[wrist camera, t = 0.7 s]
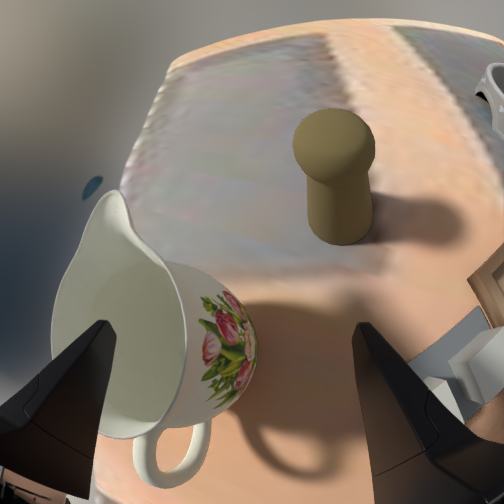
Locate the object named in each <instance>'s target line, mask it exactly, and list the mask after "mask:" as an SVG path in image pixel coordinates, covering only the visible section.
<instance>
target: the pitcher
mask: <svg viewBox="0 0 504 504" xmlns="http://www.w3.org/2000/svg"><path fill="white" fill-rule="evenodd" d="M99 319H102V320H108V321H109V322H110V324H111V325H112V327H113V329H114V331H115V332H116V335H117V341H116V347H115V352H114V358H113V365H112V371H111V375H110V380H109V384H108V388H107V392H106V396H105V401H104V405H103V410H102V414H101V419H100V424H99V430H98V433H99V434H102V435H104V436H106V437H110V438H114V439H131V438H134V442H133V462H134V467H135V469H136V471H137V473H138V475H139V476H140V477H141V479H142V480H143V481H144V482H146V483H148V484H149V485H152V486H155V487H159V488H163V489H167V488H174V487H177V486H179V485H182V484H183V483H185V482H187V481H189V480H190V479H191V478H192V477H193V476H194V475H195V474H196V473H197V472H198V471H199V469H200V468H201V466H202V464H203V462H204V460H205V457H206V454H207V451H208V447H209V443H210V437H211V423H212V418H214V417H216V416H217V415H219V414H220V413H222V412H223V411H225V410H226V409H228V408H229V407H230V406H231V405H232V404H233V403H234V402H235V401H237V400H238V399H239V397H240V396H241V395H242V394H243V392H244V391H245V390H246V388H247V386H248V384H249V383H250V381H251V379H252V376H253V374H254V371H255V367H256V363H257V355H258V345H257V338H256V333H255V329H254V326H253V324H252V321H251V319H250V317H249V315H248V313H247V312H246V310H245V308H244V307H243V305H242V304H241V303H240V302H239V300H238V299H237V298H236V297H235V296H234V295H233V294H232V293H231V292H230V291H229V290H228V289H227V288H226V287H225V286H224V285H222V284H221V283H220V282H218V281H217V280H216V279H214V278H212V277H211V276H209V275H207V274H206V273H204V272H202V271H200V270H198V269H196V268H193V267H190V266H188V265H185V264H181V263H177V262H172V261H165V260H164V259H163V258H162V257H161V256H160V255H159V254H158V253H157V252H155V251H154V250H153V249H152V248H151V247H150V246H149V245H147V244H146V243H145V242H144V241H143V240H142V239H141V238H140V237H139V235H138V234H137V232H136V231H135V228H134V225H133V221H132V218H131V215H130V211H129V208H128V205H127V202H126V200H125V198H124V196H123V194H122V193H121V192H120V191H118V190H113V191H109V192H108V193H106V194H105V195H104V196H103V197H102V198H101V199H100V200H99V201H98V203H97V204H96V206H95V208H94V210H93V212H92V213H91V216H90V218H89V220H88V223H87V225H86V228H85V230H84V233H83V236H82V239H81V243H80V245H79V247H78V250H77V252H76V254H75V256H74V258H73V259H72V261H71V263H70V265H69V267H68V269H67V271H66V273H65V274H64V277H63V279H62V281H61V283H60V286H59V290H58V292H57V296H56V300H55V304H54V309H53V315H52V324H51V350H52V359H54V358H56V357H57V356H58V355H59V354H60V353H61V352H62V351H63V350H64V349H65V348H67V347H68V346H69V345H70V344H71V343H72V342H73V341H74V340H76V339H77V338H78V337H79V336H80V335H81V334H82V333H83V332H85V331H86V330H87V329H88V328H89V327H90V326H91V325H93V324H94V323H95V322H96V321H97V320H99ZM192 425H194V429H193V435H192V440H191V443H190V447H189V450H188V452H187V455H186V456H185V458H184V460H183V461H182V462H181V463H180V464H179V465H178V466H177V467H176V468H174V469H173V470H171V471H167V472H162V471H160V470H159V468H158V466H157V462H156V446H157V441H158V439H159V437H160V435H161V434H162V432H163V431H164V430H165V429H167V428H181V427H188V426H192Z"/></svg>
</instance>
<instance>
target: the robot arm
mask: <svg viewBox="0 0 504 504" xmlns="http://www.w3.org/2000/svg"><path fill="white" fill-rule="evenodd" d="M116 341H117V335H116V332H115V331H114V329H113V327H112V325H111V324H110V322H109V321H108V320H102V319H99V320H97V321H96V322H95V323H94V324H93V325H91V326H90V327H89V328H88V329H87V330H86V331H85V332H83V333H82V334H81V335H80V336H79V337H78V338H77V339H76V340H74V341H73V342H72V343H71V344H70V345H69V346H68V347H67V348H65V349H64V350H63V351H62V352H61V353H60V354H59V355H58V356H57V357H56V358H54V359H53V360H52V361H51V362H50V363H49V364H48V365H47V366H46V367H45V368H44V369H43V370H42V371H41V372H40V373H39V374H37V375H36V376H35V377H34V378H33V379H32V380H31V381H30V382H29V383H28V384H27V385H26V386H24V387H23V388H22V389H21V390H20V391H18V392H17V393H16V394H15V395H13V396H12V397H11V398H10V399H9V400H7V401H6V402H5V403H4V404H2V405H1V406H0V504H71V503H70V501H69V500H68V498H66V495H67V494H69V495H72V496H76V497H79V498H82V499H86V500H89V494H90V483H91V475H92V467H93V459H94V453H95V447H96V441H97V435H98V430H99V424H100V419H101V414H102V410H103V405H104V401H105V396H106V392H107V388H108V384H109V380H110V375H111V371H112V365H113V358H114V352H115V347H116ZM352 348H353V357H354V367H355V378H356V384H357V389H358V394H359V399H360V405H361V410H362V415H363V421H364V426H365V432H366V438H367V445H368V451H369V458H370V465H371V473H372V477H373V478H372V482H373V491H374V501H375V504H504V444H501V443H496V442H492V441H488V440H484V439H482V438H480V437H478V436H477V435H475V434H474V433H473V432H472V431H470V430H469V429H468V428H467V427H466V426H465V425H464V424H463V423H462V422H461V421H460V420H459V419H458V418H457V417H456V416H455V415H454V414H452V413H451V412H450V411H449V410H448V409H447V408H446V407H445V406H444V405H443V403H442V402H441V401H440V400H439V399H438V398H437V397H436V396H435V394H434V393H433V392H432V391H431V390H430V389H429V388H428V387H427V385H426V384H425V383H424V382H423V381H422V380H421V378H420V377H419V376H418V375H417V374H416V373H415V372H414V371H413V369H412V368H411V367H410V366H409V365H408V364H407V363H406V362H405V360H404V359H403V358H402V357H401V356H400V355H399V354H398V353H397V352H396V350H395V349H394V348H393V347H392V346H391V345H390V344H389V343H388V342H387V341H386V340H385V338H384V337H383V336H382V335H381V334H380V333H379V332H378V331H377V330H376V329H375V328H374V327H373V326H372V324H371V323H369V322H359V323H357V325H356V328H355V331H354V334H353V337H352Z"/></svg>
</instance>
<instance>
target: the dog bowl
mask: <svg viewBox="0 0 504 504" xmlns="http://www.w3.org/2000/svg"><path fill="white" fill-rule="evenodd" d="M480 91H481V92H483V93H484V95H485V97H486V99H487V100H488V102H489V104H490V107H491V111H492V117H493V122H492V128H493V129H494V131H495V132H496V133H497V134H498V135H499V136H500V137H501V138H502V139H503V140H504V63H492V64H490V65H489V66H488V67H487V69H486V71H485V73H484V75H483V76H482V78H481V80H480V82H479V84H478V85H477V87H476V89H475V95H476V94H477V93H478V92H480Z"/></svg>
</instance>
